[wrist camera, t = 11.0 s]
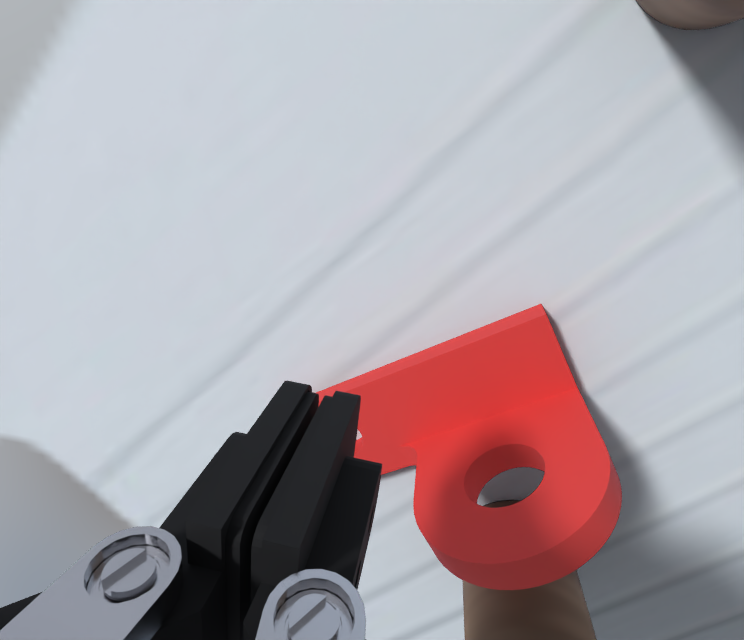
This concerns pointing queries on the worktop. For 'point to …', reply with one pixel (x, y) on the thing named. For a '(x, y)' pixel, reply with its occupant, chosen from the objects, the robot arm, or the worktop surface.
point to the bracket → (493, 451)
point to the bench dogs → (552, 600)
